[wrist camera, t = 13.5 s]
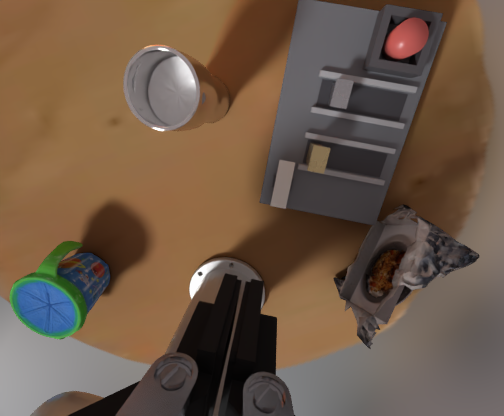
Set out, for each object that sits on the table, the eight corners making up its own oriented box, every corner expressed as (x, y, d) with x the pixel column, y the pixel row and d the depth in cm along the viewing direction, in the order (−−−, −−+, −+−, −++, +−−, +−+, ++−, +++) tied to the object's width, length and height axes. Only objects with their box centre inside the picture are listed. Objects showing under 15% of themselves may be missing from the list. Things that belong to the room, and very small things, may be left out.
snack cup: (114, 314, 50) (75, 360, 41) (60, 295, 50) (8, 338, 41) (127, 241, 45) (85, 276, 36) (66, 221, 45) (8, 250, 36)
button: (406, 64, 30) (421, 57, 27) (377, 59, 31) (389, 52, 27) (416, 31, 29) (434, 20, 26) (387, 26, 29) (400, 14, 26)
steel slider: (340, 109, 33) (346, 108, 30) (325, 106, 33) (329, 105, 30) (347, 84, 32) (353, 81, 29) (331, 81, 32) (336, 78, 29)
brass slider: (317, 165, 35) (323, 173, 30) (303, 162, 35) (307, 170, 30) (323, 143, 34) (330, 148, 29) (309, 140, 34) (313, 145, 29)
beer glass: (243, 95, 36) (219, 82, 22) (213, 137, 38) (172, 150, 24) (201, 58, 35) (147, 20, 21) (172, 104, 37) (106, 97, 23)
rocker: (285, 207, 36) (285, 208, 35) (270, 204, 36) (270, 205, 35) (294, 162, 35) (295, 162, 34) (279, 159, 35) (279, 159, 34)
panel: (369, 219, 40) (381, 233, 35) (260, 197, 40) (258, 208, 36) (434, 29, 32) (461, 14, 27) (297, 6, 32) (300, -13, 28)
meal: (355, 288, 44) (384, 356, 31) (332, 275, 43) (351, 339, 31) (418, 211, 39) (482, 256, 26) (392, 196, 38) (445, 235, 26)
